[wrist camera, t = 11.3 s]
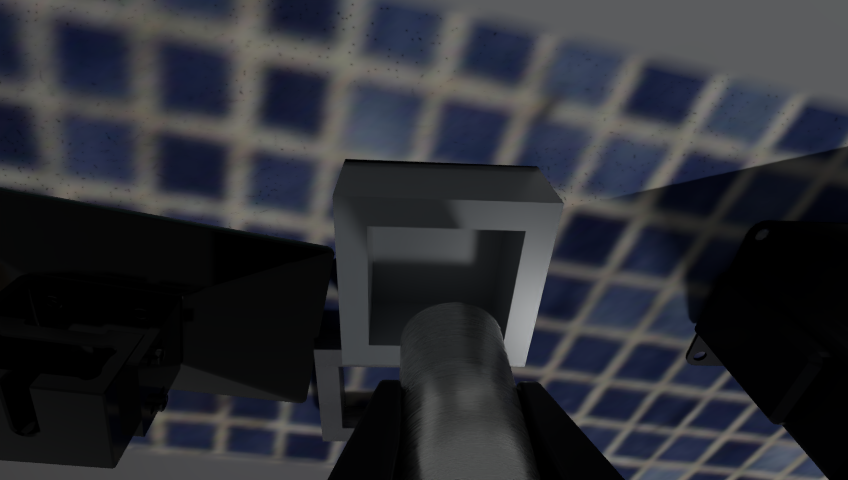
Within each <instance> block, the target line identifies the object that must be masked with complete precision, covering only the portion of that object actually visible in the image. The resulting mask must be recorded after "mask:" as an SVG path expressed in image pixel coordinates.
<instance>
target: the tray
mask: <svg viewBox="0 0 848 480" xmlns="http://www.w3.org/2000/svg"><path fill="white" fill-rule="evenodd" d="M563 205H564V203H563V202H562V200H561V199H560V197H559V196H558V195H557V193H556V192H555V191H554V189H553V188H552V186H551V185H550V184H549V182H548V181H547V179H546V178H545V177H544V175H543V174H542V173H541V171H540V170H539V168H538V167H537V166H513V165H487V164H461V163H435V162H409V161H383V160H357V159H345V161H344V164H343V167H342V170H341V173H340V176H339V179H338V182H337V184H336V187H335V190H334V193H333V211H334V228H335V245H336V262H337V279H338V297H339V314H340V331H341V348H342V365H400V340H401V335H402V331H403V329H404V327H405V326H406V324H407V323H408V322H409V321H410V319H411V318H412V317H414V316H415V315H416V314H417V313H419V312H420V311H422V310H424V309H426V308H428V307H431V306H434V305H437V304H442V303H451V302H457V303H466V304H471V305H474V306H477V307H479V308H481V309H483V310H485V311H486V312H488V313H489V314H490V315H491V316H492V317H493V318H494V319H495V320H496V321H497V323H498V325H499V327H500V330H501V334H502V337H503V341H504V345H505V348H506V352H507V356H508V359H509V363H510V366H525V362H526V358H527V354H528V350H529V346H530V342H531V338H532V333H533V329H534V325H535V321H536V317H537V313H538V309H539V304H540V300H541V296H542V292H543V288H544V284H545V280H546V275H547V271H548V267H549V263H550V259H551V255H552V251H553V246H554V242H555V238H556V234H557V230H558V226H559V222H560V217H561V213H562V209H563Z"/></svg>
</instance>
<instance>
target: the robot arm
mask: <svg viewBox="0 0 848 480" xmlns="http://www.w3.org/2000/svg"><path fill="white" fill-rule="evenodd" d="M765 228H768V229H769V230H770V232H769V235H768V236H767V237H766V238H764V239H763V240H756V239H755V237H756V234H757V233H758V232H759V231H760V230H762V229H765ZM695 331H696V333H697V335H696V337H695V339H694V341H693V343H692V345H691V347H690V349H689V351H688V353H687V355H686V360H687V362H688V363H690V364H691V365H710V366H724V367H725V368H726V369H727V370H728V371H729V372H730V374H731V375H732V376H733V377H734V378H735V380H736V381H737V382H738V383H739V384H740V386H741V387H742V388H743V389H744V390H745V392H746V393H747V394H748V395H749V396H750V398H751V399H752V400H753V401H754V402H755V404H756V405H757V406H758V407H759V408H760V410H761V411H762V412H763V413H764V414H765V416H766V417H767V418H768V419H769V420H770V421H771V422H772V423H773V424H777V425H782V426H783V427H784V428H785V429H786V430H787V431H788V433H789V434H790V435H791V436H792V437H793V438H794V440H795V441H796V442H797V443H798V444H799V445H800V447H801V448H802V449H803V450H804V451H805V453H806V454H807V455H808V456H809V457H810V458H811V460H812V461H813V462H814V463H815V464H816V465H817V467H818V468H819V469H820V470H821V471H822V472H823V474H824V475H825V476H826V477H827V478H828V479H829V480H848V223H835V222H804V221H773V220H768V221H762V222H759V223H757V224H755V225H754V226H753V227H752V228H751V229H750V230H749V231H748V233H747V234H746V236H745V238H744V240H743V243H742V245H741V247H740V249H739V251H738V253H737V255H736V257H735V259H734V261H733V263H732V265H731V267H730V269H729V271H728V272H724V273H723V274H722V275H721V276H720V278H719V280H718V282H717V284H716V286H715V288H714V290H713V292H712V294H711V296H710V298H709V300H708V302H707V304H706V306H705V308H704V310H703V312H702V314H701V316H700V318H699V320H698V322H697V324H696V326H695ZM702 351H703V352H706V353H705V355H704V357H702V358H700V359H693V358H694V355H695V354H696V353H698V352H702ZM516 389H517V393H518V396H519V400H520V404H521V408H522V411H523V415H524V419H525V422H526V426H527V430H528V434H529V437H530V441H531V445H532V448H533V452H534V456H535V459H536V463H537V467H538V471H539V474H540V478H541V480H625V479H624V478H623V477H622V476H621V475H620V474H619V473H618V471H617V470H616V469H615V468H614V467H613V466H612V465H611V464H610V462H609V461H608V460H607V459H606V458H605V457H604V456H603V454H602V453H601V452H600V451H599V450H598V449H597V448H596V446H595V445H594V444H593V443H592V442H591V441H590V440H589V439H588V437H587V436H586V435H585V434H584V433H583V432H582V431H581V429H580V428H579V427H578V426H577V425H576V424H575V423H574V422H573V420H572V419H571V418H570V417H569V416H568V415H567V414H566V412H565V411H564V410H563V409H562V408H561V407H560V406H559V405H558V403H557V402H556V401H555V400H554V399H553V398H552V397H551V395H550V394H549V393H548V392H547V391H546V390H545V389H544V388H543V386H542V385H541V384H539V383H538V382H528V381H521V382H519V383H518V384H517V387H516ZM400 430H401V382H400V381H399V380H382V381H380V383H379V384H378V386H377V388H376V390H375V392H374V394H373V395H372V397H371V399H370V401H369V403H368V405H367V407H366V409H365V410H364V412H363V414H362V416H361V418H360V420H359V422H358V423H357V425H356V427H355V429H354V431H353V433H352V435H351V437H350V438H349V440H348V442H347V444H346V446H345V448H344V450H343V452H342V453H341V455H340V457H339V459H338V461H337V463H336V465H335V467H334V468H333V470H332V472H331V474H330V476H329V478H328V480H398V464H399V451H400Z"/></svg>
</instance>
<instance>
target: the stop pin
mask: <svg viewBox="0 0 848 480" xmlns="http://www.w3.org/2000/svg"><path fill="white" fill-rule="evenodd" d="M400 382H401V430H400V451H399V464H398V480H541V478H540V474H539V471H538V467H537V463H536V459H535V456H534V452H533V448H532V445H531V441H530V437H529V434H528V430H527V426H526V422H525V419H524V415H523V411H522V408H521V404H520V400H519V396H518V393H517V389H516V385H515V382H514V378H513V374H512V371H511V367H510V363H509V359H508V356H507V352H506V348H505V345H504V341H503V337H502V334H501V330H500V327H499V325H498V323H497V321H496V320H495V319H494V318H493V317H492V316H491V315H490V314H489V313H488V312H486V311H485V310H483V309H481V308H479V307H477V306H474V305H471V304H466V303H457V302H451V303H442V304H437V305H434V306H431V307H428V308H426V309H424V310H422V311H420V312H419V313H417V314H416V315H415V316H414V317H412V318H411V319H410V321H409V322H408V323H407V324H406V326H405V327H404V329H403V331H402V335H401V340H400Z"/></svg>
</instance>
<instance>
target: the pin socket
mask: <svg viewBox="0 0 848 480" xmlns="http://www.w3.org/2000/svg"><path fill="white" fill-rule="evenodd" d="M314 358H315V368H316V377H317V387H318V397H319V407H320V416H321V426H322V436H323V441H348V440H349V438H350V437H351V435H352V433H353V431H354V429H355V427H356V425H357V423H358V422H359V420H360V418H361V416H362V414H363V412H364V410H365V409H366V407H345V390H344V373H343V367H400V365H342V348H341V331H340V330H320V332H319V337H318V342H317V344H315V346H314Z"/></svg>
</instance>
